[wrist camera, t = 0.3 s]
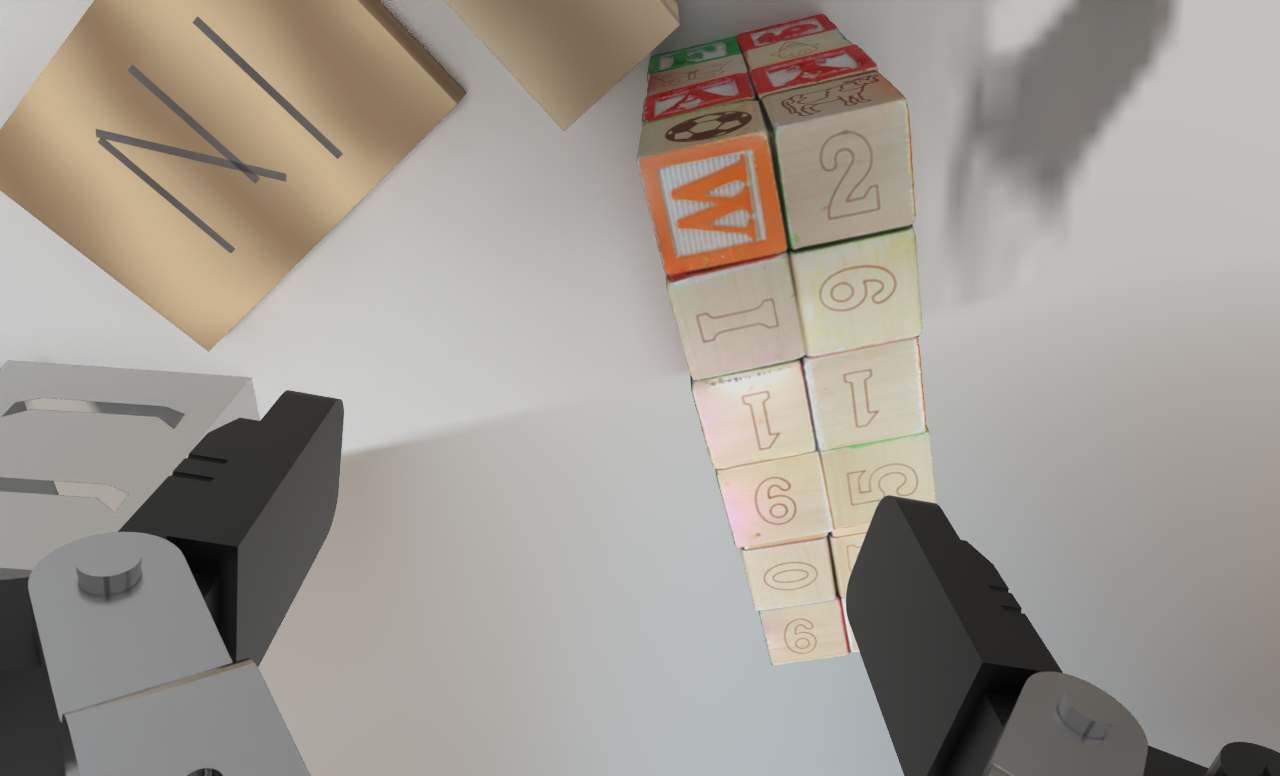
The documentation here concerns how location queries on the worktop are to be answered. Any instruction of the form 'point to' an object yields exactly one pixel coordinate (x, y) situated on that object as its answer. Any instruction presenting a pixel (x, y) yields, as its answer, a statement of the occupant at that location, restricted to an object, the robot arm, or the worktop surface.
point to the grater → (95, 447)
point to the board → (216, 140)
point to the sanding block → (569, 44)
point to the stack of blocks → (793, 303)
